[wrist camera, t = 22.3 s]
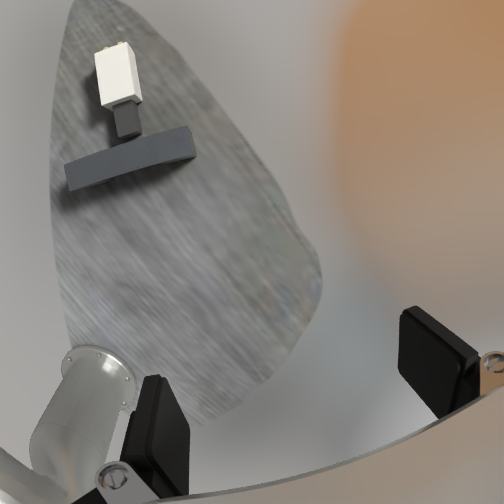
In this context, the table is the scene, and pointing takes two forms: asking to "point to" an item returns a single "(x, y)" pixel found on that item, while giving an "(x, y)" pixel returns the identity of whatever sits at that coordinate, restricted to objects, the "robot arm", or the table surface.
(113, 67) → the plug
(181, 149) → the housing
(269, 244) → the table surface
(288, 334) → the table surface
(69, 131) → the table surface
